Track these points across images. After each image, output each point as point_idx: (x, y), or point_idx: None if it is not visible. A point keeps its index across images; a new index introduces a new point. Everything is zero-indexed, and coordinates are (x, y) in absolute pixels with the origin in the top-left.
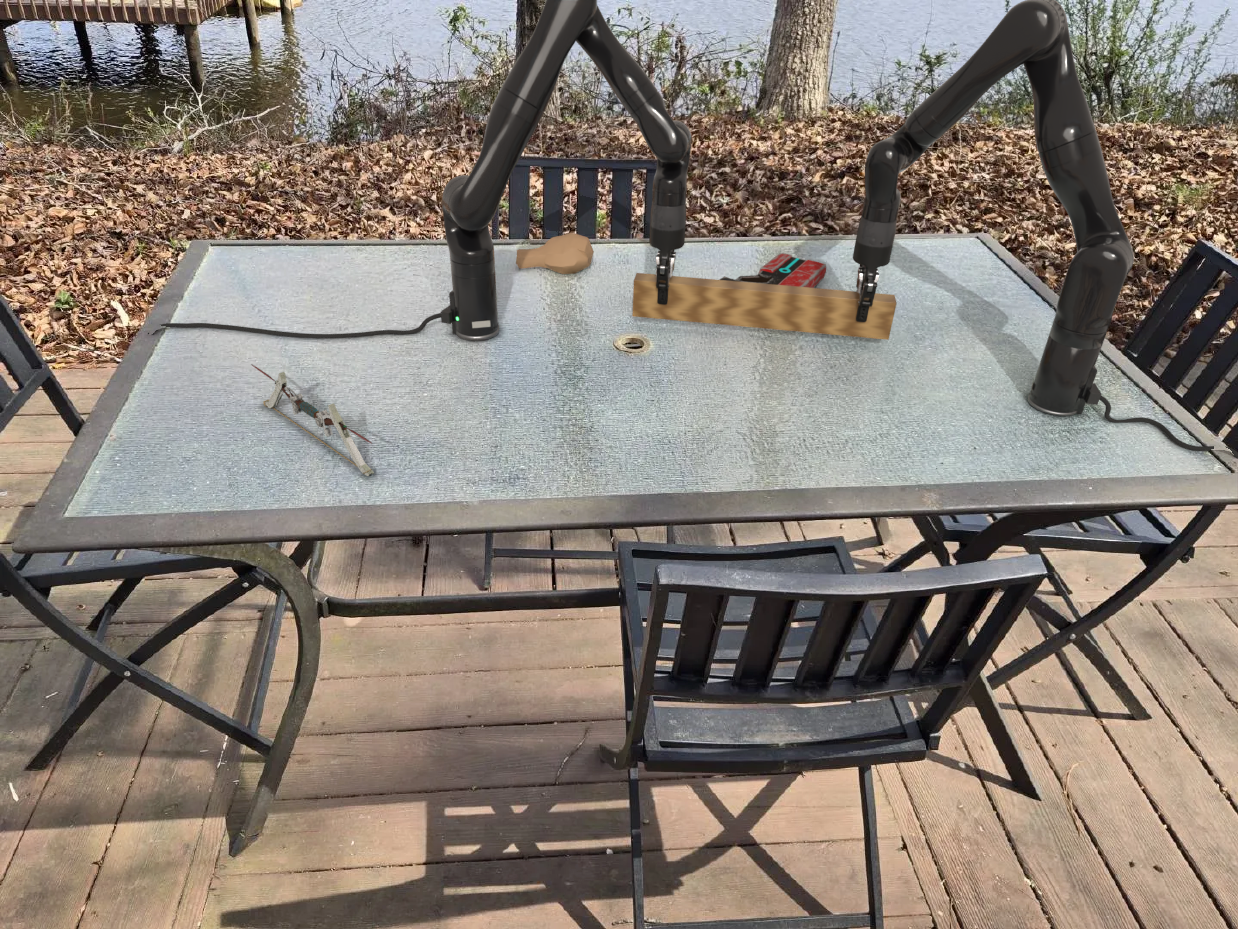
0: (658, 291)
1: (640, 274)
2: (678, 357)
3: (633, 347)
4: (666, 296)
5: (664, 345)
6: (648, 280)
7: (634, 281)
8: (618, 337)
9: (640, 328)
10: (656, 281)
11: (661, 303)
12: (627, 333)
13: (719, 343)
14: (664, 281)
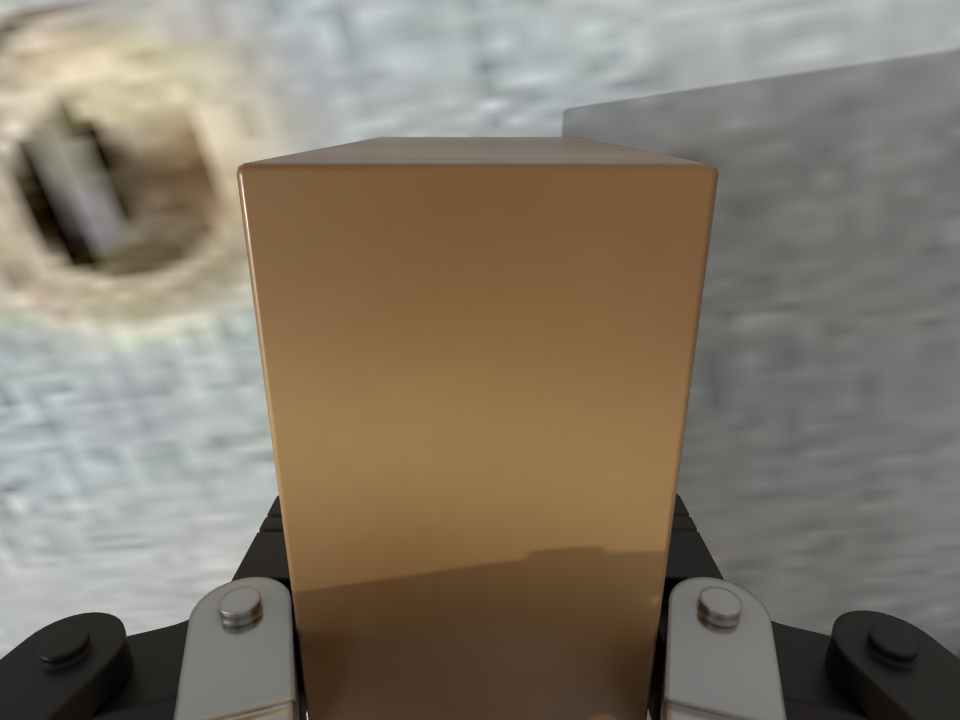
0: (283, 549)
1: (617, 273)
2: (40, 516)
3: (49, 201)
4: None
5: (178, 417)
6: (324, 470)
7: (240, 182)
8: (181, 38)
9: None
10: (318, 602)
11: None
12: (286, 109)
13: None
14: (359, 709)
